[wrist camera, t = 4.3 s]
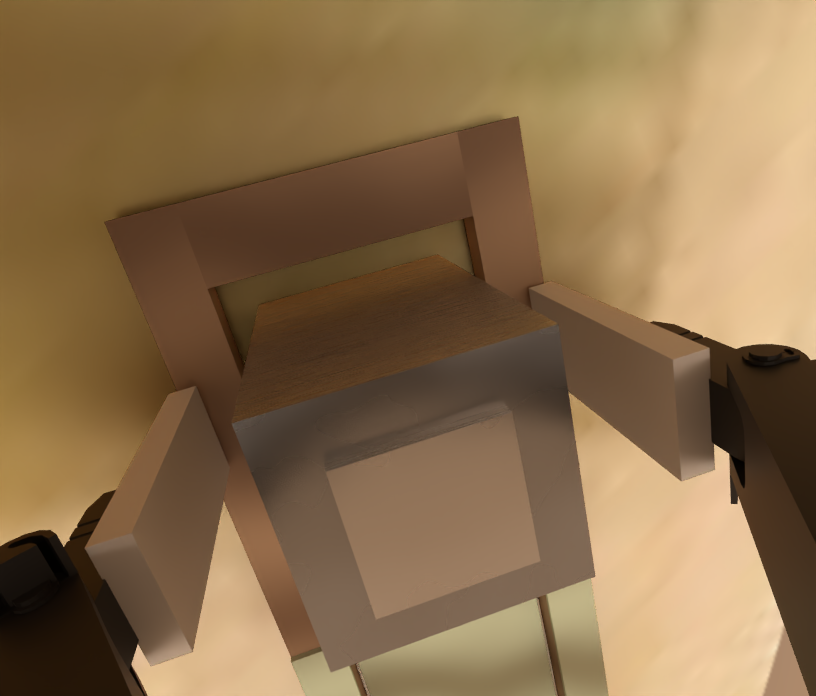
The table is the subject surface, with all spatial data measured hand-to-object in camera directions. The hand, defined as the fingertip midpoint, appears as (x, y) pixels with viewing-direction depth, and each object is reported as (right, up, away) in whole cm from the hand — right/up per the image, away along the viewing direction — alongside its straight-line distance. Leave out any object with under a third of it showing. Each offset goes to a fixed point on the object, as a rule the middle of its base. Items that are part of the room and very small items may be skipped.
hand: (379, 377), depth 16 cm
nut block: (0, 0, +1) cm, 1 cm away
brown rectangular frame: (+1, -6, +4) cm, 7 cm away
